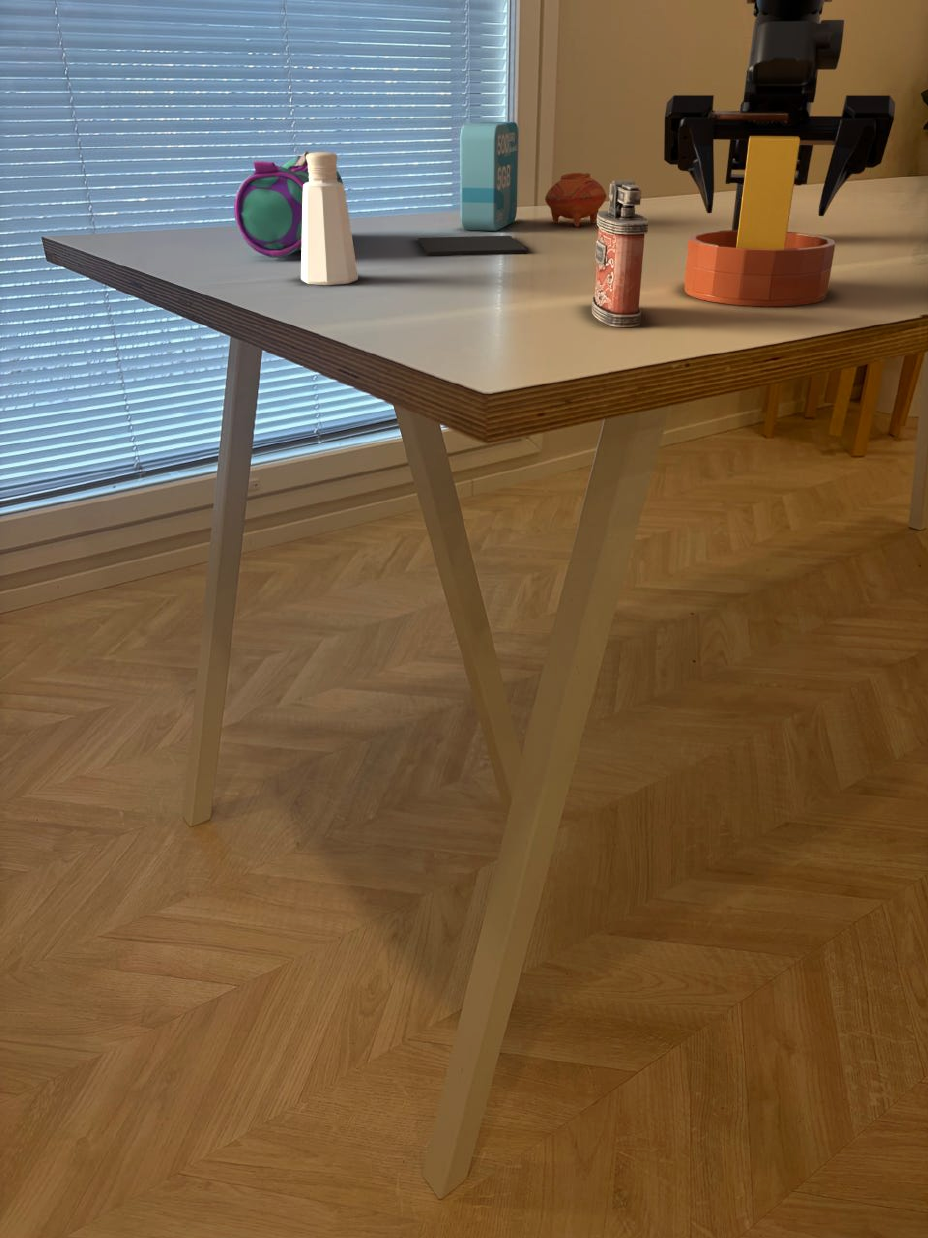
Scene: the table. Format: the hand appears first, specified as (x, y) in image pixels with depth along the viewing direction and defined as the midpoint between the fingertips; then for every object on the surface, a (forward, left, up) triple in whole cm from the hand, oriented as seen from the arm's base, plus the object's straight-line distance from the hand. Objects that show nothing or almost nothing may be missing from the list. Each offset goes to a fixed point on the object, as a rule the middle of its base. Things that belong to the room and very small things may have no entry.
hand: (764, 211), depth 84 cm
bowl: (-1, 0, -7) cm, 7 cm away
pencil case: (+4, -53, -7) cm, 54 cm away
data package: (-24, -46, -7) cm, 53 cm away
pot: (-32, -38, -7) cm, 51 cm away
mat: (-8, -37, -7) cm, 39 cm away
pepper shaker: (+17, -35, -7) cm, 40 cm away
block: (-1, 0, -6) cm, 6 cm away
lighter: (+15, -5, -7) cm, 17 cm away
